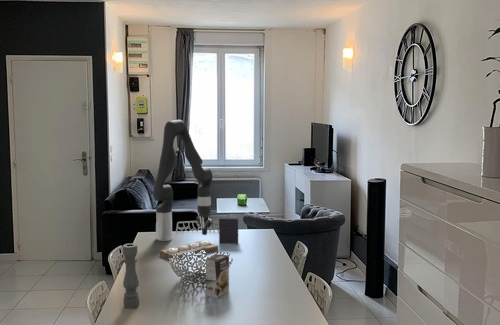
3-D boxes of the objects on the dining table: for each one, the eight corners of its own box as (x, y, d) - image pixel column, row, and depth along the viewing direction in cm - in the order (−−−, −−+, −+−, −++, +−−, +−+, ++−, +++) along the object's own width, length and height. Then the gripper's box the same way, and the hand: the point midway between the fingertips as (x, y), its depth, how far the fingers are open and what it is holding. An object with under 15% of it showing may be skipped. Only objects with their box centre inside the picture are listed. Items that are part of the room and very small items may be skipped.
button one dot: (198, 246, 276) (198, 241, 275) (205, 244, 279) (205, 240, 278) (203, 248, 272) (203, 243, 272) (210, 246, 275) (210, 241, 275)
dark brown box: (238, 242, 290) (238, 217, 289) (237, 244, 286) (237, 219, 284) (220, 241, 291) (220, 217, 290) (219, 243, 287) (218, 218, 285)
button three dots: (188, 248, 271) (188, 243, 271) (195, 246, 274) (195, 242, 274) (193, 250, 267) (193, 245, 267) (200, 248, 271) (200, 244, 270)
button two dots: (167, 253, 261) (166, 248, 261) (174, 251, 265) (174, 247, 264) (172, 255, 258) (171, 250, 258) (179, 253, 261) (179, 249, 261)
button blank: (177, 251, 266) (177, 246, 266) (185, 249, 269) (185, 244, 269) (183, 253, 263) (182, 248, 262) (190, 251, 266) (190, 246, 266)
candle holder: (125, 302, 200) (123, 243, 197) (140, 302, 201) (139, 243, 198) (122, 309, 194) (120, 247, 191) (138, 308, 195) (136, 247, 192)
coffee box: (217, 298, 205) (217, 261, 203) (205, 295, 209) (204, 258, 207) (229, 291, 213) (229, 255, 211) (217, 288, 216) (217, 253, 214)
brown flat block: (159, 255, 264) (159, 250, 264) (202, 245, 283) (202, 240, 283) (174, 261, 254) (174, 256, 253) (218, 250, 273) (218, 245, 273)
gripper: (191, 203, 275) (192, 233, 277) (205, 206, 265) (206, 238, 267) (202, 201, 280) (202, 231, 282) (216, 204, 270) (217, 235, 272)
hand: (204, 234), depth 274 cm, fingers closed
